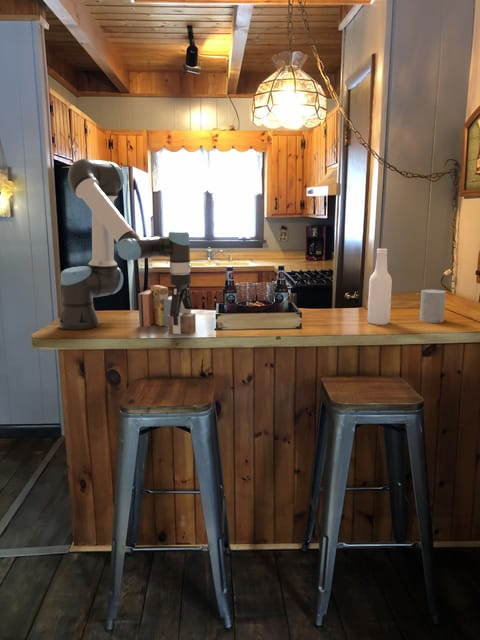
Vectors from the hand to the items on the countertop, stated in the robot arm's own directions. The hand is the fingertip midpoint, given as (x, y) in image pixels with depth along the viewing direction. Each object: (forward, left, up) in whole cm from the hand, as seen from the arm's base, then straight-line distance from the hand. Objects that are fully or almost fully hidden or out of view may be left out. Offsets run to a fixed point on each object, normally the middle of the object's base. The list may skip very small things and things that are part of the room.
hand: (182, 329), depth 195 cm
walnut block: (0, 0, -1) cm, 1 cm away
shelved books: (-13, +12, -1) cm, 18 cm away
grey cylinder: (+96, +39, -1) cm, 103 cm away
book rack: (-12, +13, -1) cm, 18 cm away
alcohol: (+74, +30, -1) cm, 80 cm away
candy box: (-13, +12, -1) cm, 18 cm away
